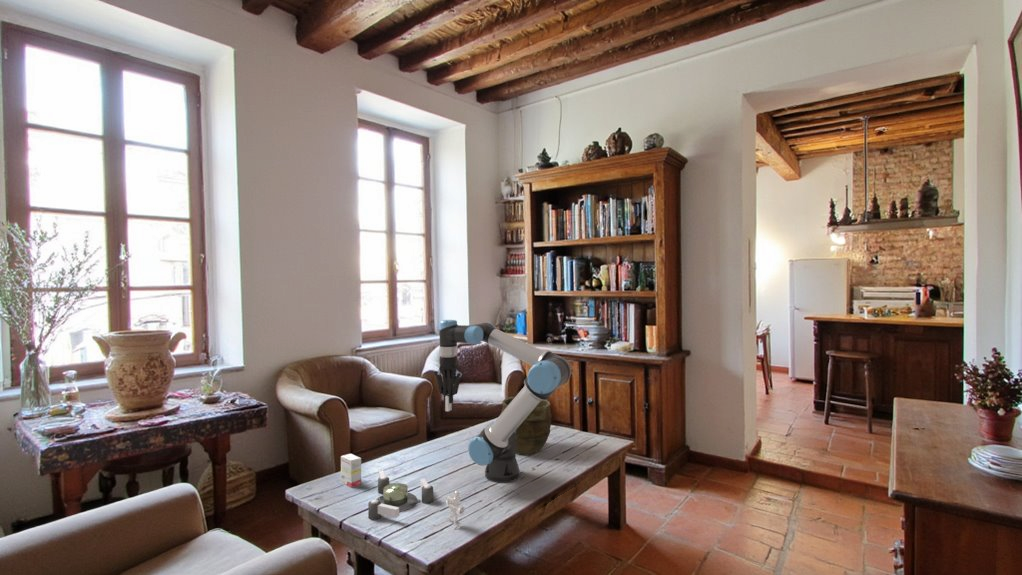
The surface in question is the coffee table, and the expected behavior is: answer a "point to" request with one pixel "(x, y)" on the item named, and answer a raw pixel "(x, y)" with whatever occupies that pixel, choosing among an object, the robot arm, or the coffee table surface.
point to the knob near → (426, 491)
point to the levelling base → (398, 496)
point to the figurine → (454, 508)
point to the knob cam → (381, 510)
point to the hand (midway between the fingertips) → (448, 410)
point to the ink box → (350, 470)
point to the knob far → (382, 481)
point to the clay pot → (532, 428)
